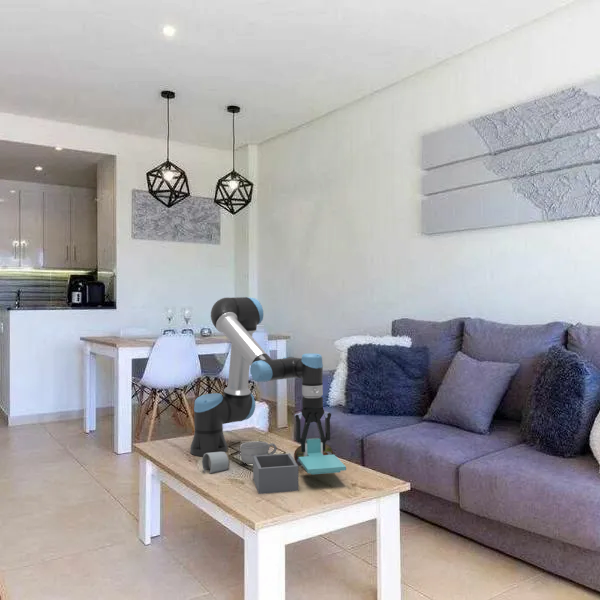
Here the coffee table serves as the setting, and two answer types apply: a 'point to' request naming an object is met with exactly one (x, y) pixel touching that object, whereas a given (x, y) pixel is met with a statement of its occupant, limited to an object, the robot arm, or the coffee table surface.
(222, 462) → the ceramic mug
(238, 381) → the robot arm
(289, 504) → the coffee table surface
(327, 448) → the tin
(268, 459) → the tub
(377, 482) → the coffee table surface
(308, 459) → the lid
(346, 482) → the coffee table surface
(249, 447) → the teacup
